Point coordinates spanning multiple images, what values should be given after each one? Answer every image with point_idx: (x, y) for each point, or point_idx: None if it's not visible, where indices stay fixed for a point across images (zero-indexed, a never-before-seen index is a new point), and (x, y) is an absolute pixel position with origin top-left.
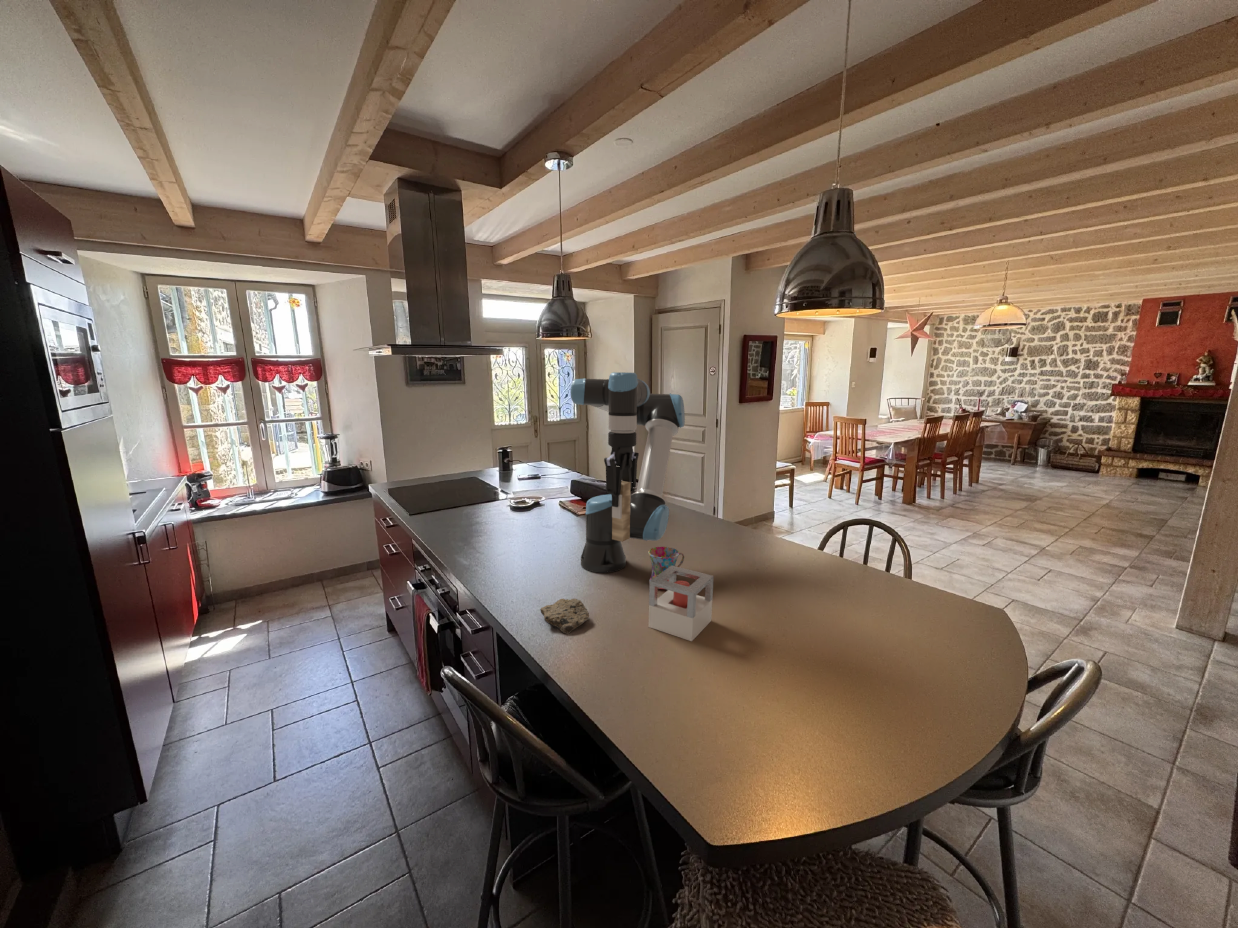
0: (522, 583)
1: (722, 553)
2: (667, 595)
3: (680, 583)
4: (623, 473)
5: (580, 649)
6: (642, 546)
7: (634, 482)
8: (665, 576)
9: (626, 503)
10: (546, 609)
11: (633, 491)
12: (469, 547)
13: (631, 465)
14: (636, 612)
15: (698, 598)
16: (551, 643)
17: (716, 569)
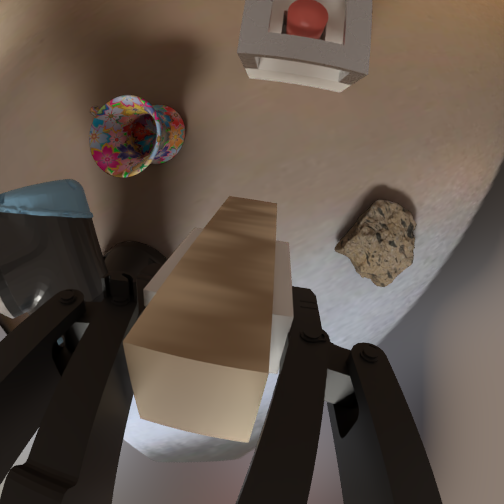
0: None
1: (10, 118)
2: (288, 62)
3: (307, 16)
4: (111, 456)
5: (440, 177)
6: None
7: (56, 315)
8: (321, 44)
9: (233, 258)
10: (393, 274)
11: (125, 272)
12: (215, 442)
13: (16, 489)
14: (298, 131)
15: None
16: (438, 225)
17: (59, 87)
